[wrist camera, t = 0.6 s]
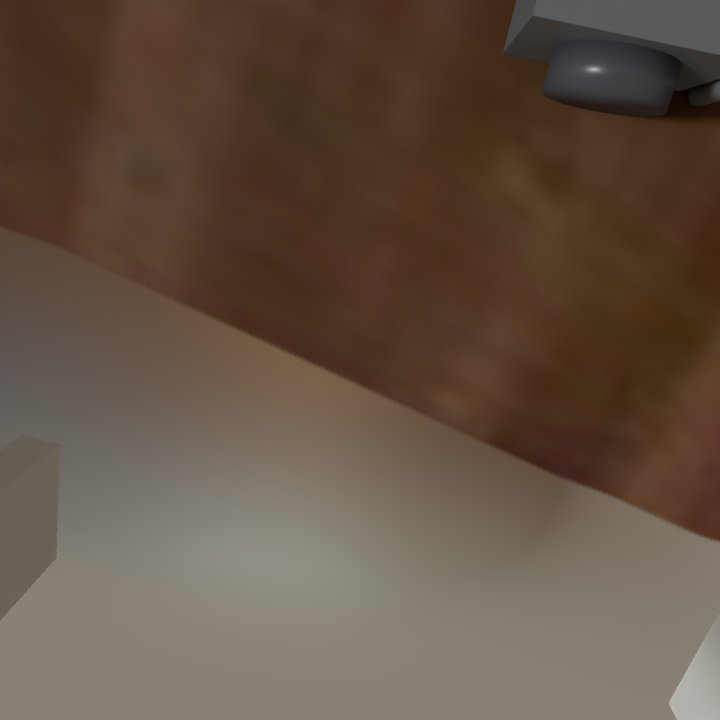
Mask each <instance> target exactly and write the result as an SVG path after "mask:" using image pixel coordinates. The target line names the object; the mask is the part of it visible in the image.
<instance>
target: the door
mask: <svg viewBox="0 0 720 720" xmlns="http://www.w3.org/2000/svg"><path fill="white" fill-rule="evenodd" d="M688 100H689V102H690V103H691V104H692V105H694V106H702V105H706V104H711V103H715V102H719V101H720V79H718V80H715V81H711V82H708V83H705V84H702V85H698V86H695V87H692V88H691V89H690V91H689V93H688Z"/></svg>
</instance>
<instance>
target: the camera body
mask: <svg viewBox="0 0 720 720" xmlns="http://www.w3.org/2000/svg"><path fill="white" fill-rule="evenodd" d="M503 54H507V55H511V56H516V57H521V58H525V59H530V60H535V61H539V62H544V63H549V68H548V71H547V75H546V78H545V82H544V86H543V89H542V94H543V95H544V96H546V97H548V98H550V99H552V100H554V101H557V102H560V103H563V104H566V105H570V106H574V107H578V108H582V109H587V110H592V111H598V112H604V113H610V114H618V115H628V116H658V115H663V114H665V113H666V111H667V109H668V106H669V103H670V100H671V97H672V94H673V92H674V90H676V91H682V90H685V89H688V88H692V87H695V86H698V85H702V84H705V83H708V82H711V81H715V80H718V79H720V0H516V4H515V8H514V12H513V16H512V19H511V23H510V27H509V31H508V35H507V39H506V43H505V47H504V51H503Z"/></svg>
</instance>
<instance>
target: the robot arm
mask: <svg viewBox="0 0 720 720" xmlns="http://www.w3.org/2000/svg"><path fill="white" fill-rule="evenodd" d="M59 454H60V444H57V443H53V442H49V441H44V440H40V439H36V438H32V437H27V436H23V435H21V436H20V437H18V438H17V439H15V440H14V441H12V442H11V443H9V444H8V445H7V446H5V447H4V448H2V449H1V450H0V620H1V619H2V618H3V617H4V616H5V614H6V613H7V612H8V611H9V610H10V609H11V608H12V606H14V604H15V603H16V602H17V601H18V600H19V599H20V597H22V595H23V594H24V593H25V592H26V591H27V590H28V589H29V588H30V586H31V585H32V584H33V583H34V582H35V581H36V580H37V579H38V578H39V577H40V575H41V574H42V573H43V572H44V571H45V570H46V568H48V566H49V565H50V564H51V563H52V562H53V561H54V560H55V558H56V547H57V515H58V486H59ZM669 704H670V707H671V709H672V711H673V713H674V715H675V717H676V719H677V720H720V613H719V614H718V616H717V618H716V620H715V621H714V623H713V625H712V627H711V629H710V630H709V632H708V634H707V636H706V637H705V639H704V641H703V643H702V645H701V646H700V648H699V650H698V652H697V653H696V655H695V657H694V659H693V661H692V662H691V664H690V666H689V668H688V669H687V671H686V673H685V675H684V677H683V678H682V680H681V682H680V684H679V686H678V687H677V689H676V691H675V693H674V694H673V696H672V698H671V700H670V701H669Z"/></svg>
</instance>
